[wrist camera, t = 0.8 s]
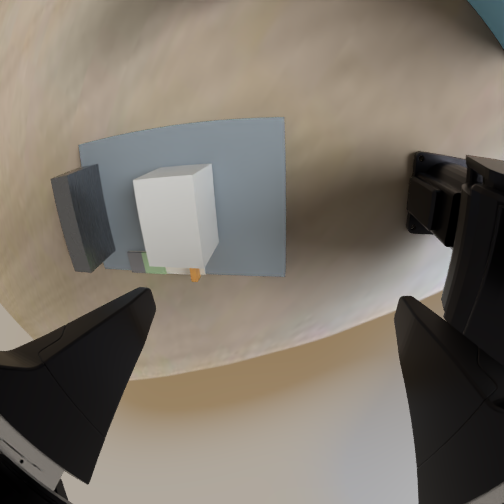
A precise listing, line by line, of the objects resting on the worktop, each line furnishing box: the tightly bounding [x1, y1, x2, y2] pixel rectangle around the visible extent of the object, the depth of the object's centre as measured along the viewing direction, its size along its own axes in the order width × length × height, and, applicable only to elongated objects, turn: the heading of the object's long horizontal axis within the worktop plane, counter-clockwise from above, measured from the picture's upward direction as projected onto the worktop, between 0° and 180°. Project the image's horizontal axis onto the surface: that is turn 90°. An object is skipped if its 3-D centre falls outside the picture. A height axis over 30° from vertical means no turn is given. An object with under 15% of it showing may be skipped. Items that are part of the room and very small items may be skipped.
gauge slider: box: [133, 163, 219, 282], centre depth 19 cm, size 4×9×4 cm, turn 3°
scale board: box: [79, 117, 286, 277], centre depth 21 cm, size 17×12×2 cm
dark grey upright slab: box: [51, 164, 116, 273], centre depth 20 cm, size 2×8×4 cm, turn 3°
